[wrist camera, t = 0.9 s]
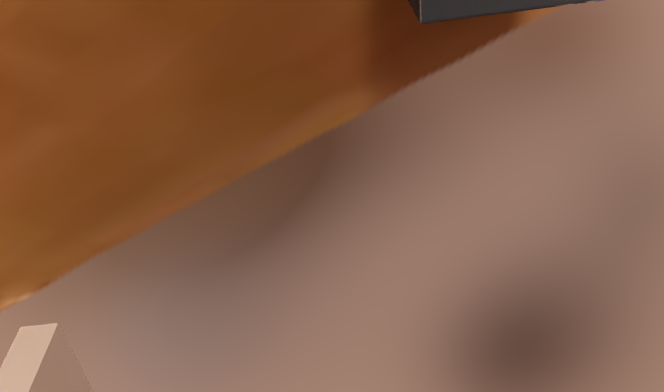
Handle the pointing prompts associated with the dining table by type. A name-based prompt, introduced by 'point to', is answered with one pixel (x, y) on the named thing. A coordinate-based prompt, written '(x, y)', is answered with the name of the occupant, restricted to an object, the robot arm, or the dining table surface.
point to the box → (478, 8)
